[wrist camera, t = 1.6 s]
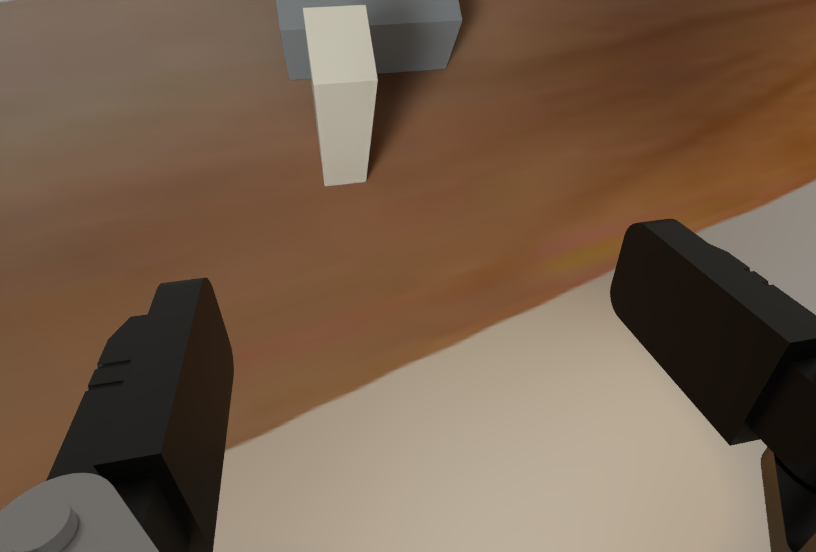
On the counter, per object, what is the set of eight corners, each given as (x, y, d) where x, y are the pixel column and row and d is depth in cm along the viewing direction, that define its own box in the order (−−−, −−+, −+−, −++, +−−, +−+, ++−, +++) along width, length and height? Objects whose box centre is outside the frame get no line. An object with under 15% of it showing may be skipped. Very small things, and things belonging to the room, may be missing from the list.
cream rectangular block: (324, 186, 35) (313, 84, 22) (317, 134, 36) (302, 7, 23) (366, 181, 36) (377, 80, 23) (358, 131, 36) (365, 5, 24)
